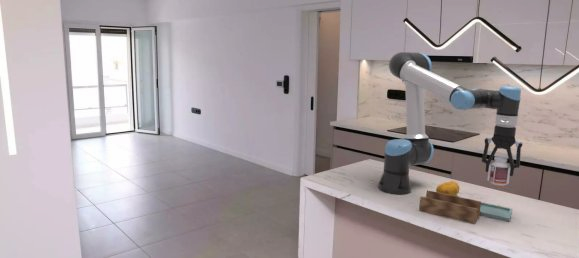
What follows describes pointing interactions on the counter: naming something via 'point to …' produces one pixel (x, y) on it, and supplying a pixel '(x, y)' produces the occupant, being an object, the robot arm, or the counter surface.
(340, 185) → the counter surface
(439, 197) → the wooden shelf
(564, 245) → the counter surface
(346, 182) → the counter surface
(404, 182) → the robot arm
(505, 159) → the pill bottle
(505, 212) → the tray
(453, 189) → the potato
